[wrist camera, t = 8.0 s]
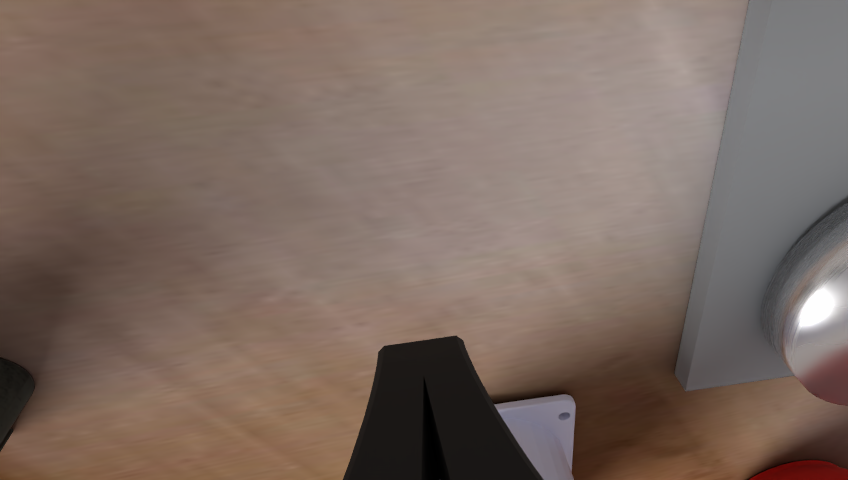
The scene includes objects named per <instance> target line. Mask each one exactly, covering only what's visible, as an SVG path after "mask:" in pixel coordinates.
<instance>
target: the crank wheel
mask: <svg viewBox="0 0 848 480" xmlns="http://www.w3.org/2000/svg"><path fill="white" fill-rule="evenodd" d="M760 318H761V328H762V332H763V335H764V338H765V339H766V341H767V343H768V345H769V346H770V347H771V348H772V349H773V351H774V352H775V353H776V354H777V355H778V356H779V358H780V359H781V360H782V361H783V362H784V363H785V365H786V366H787V367H788V368H789V369H790V370H791V372H792V373H793V374H794V375H795V376H796V377H797V379H798V380H799V381H800V382H801V383H802V384H803V385H804V387H805V388H806V389H807V390H808V391H809V392H811V393H812V394H813V395H815V396H816V397H818V398H820V399H823V400H825V401H827V402H831V403H835V404H839V405H846V406H848V202H847V203H846V204H844V205H843V206H841V207H840V208H838V209H837V210H835V211H834V212H832V213H831V214H829V215H828V216H827V217H826V218H824V219H823V220H822V221H821V222H819V223H818V224H817V225H816V226H814V227H813V228H812V229H811V230H810V231H809V232H808V233H807V234H806V235H805V236H804V237H803V238H802V239H800V240H799V242H798V243H797V244H796V245H795V246H794V247H793V248H792V249H791V251H790V252H789V253H788V254H787V255H786V257H785V258H784V260H783V261H782V262H781V264H780V265H779V266H778V268H777V270H776V271H775V273H774V275H773V277H772V278H771V280H770V282H769V285H768V287H767V289H766V292H765V294H764V298H763V302H762V306H761V316H760Z"/></svg>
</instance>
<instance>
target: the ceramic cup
mask: <svg viewBox="0 0 848 480" xmlns="http://www.w3.org/2000/svg"><path fill="white" fill-rule="evenodd" d="M749 480H848V469H845V468H840V467H838V466H837V465H835V464H832V463H830V462H826V461H820V460H806V461H797V462H792V463H788V464H783V465H780V466H777V467H774V468H771V469H769V470H767V471H764V472H762V473H760V474H758V475H756V476H754V477H753V478H751V479H749Z"/></svg>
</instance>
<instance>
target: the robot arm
mask: <svg viewBox="0 0 848 480" xmlns="http://www.w3.org/2000/svg"><path fill="white" fill-rule="evenodd" d="M575 411H576V405H575V402H574V399H573V397H571V396H570V395H566V394H562V395H555V396H548V397H541V398H535V399H528V400H521V401H514V402H507V403H500V404H493V402H492V400H491V399H490V397H489V395H488V393H487V391H486V390H485V388H484V386H483V384H482V382H481V380H480V378H479V377H478V375H477V373H476V371H475V369H474V366H473V364H472V362H471V360H470V358H469V355H468V353H467V350H466V348H465V345H464V342H463V340H462V339H460V338H459V337H457V336H451V337H444V338H437V339H430V340H423V341H416V342H409V343H402V344H395V345H388V346H384V347H383V348H382V349H381V350H380V351H379V352H378V360H377V367H376V372H375V377H374V382H373V386H372V390H371V394H370V398H369V402H368V405H367V409H366V412H365V416H364V419H363V422H362V426H361V429H360V432H359V435H358V438H357V441H356V444H355V447H354V450H353V453H352V456H351V459H350V462H349V465H348V468H347V470H346V473H345V475H344V478H343V480H574V478H573V475H572V458H573V442H574V426H575Z"/></svg>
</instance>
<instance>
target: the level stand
mask: <svg viewBox="0 0 848 480" xmlns="http://www.w3.org/2000/svg"><path fill="white" fill-rule="evenodd" d="M847 202H848V0H749V5H748V10H747V15H746V20H745V25H744V30H743V35H742V40H741V45H740V49H739V54H738V59H737V64H736V69H735V74H734V79H733V84H732V89H731V94H730V99H729V104H728V109H727V114H726V119H725V124H724V129H723V134H722V139H721V144H720V149H719V154H718V159H717V164H716V169H715V174H714V179H713V184H712V189H711V194H710V199H709V204H708V209H707V214H706V219H705V224H704V229H703V234H702V239H701V244H700V249H699V254H698V259H697V264H696V269H695V274H694V278H693V283H692V288H691V293H690V298H689V303H688V308H687V313H686V318H685V323H684V328H683V333H682V338H681V343H680V348H679V353H678V358H677V363H676V368H675V373H674V374H675V375H676V377H677V379H678V380H679V382H680V384H681V385H682V387H683V388H684V390H685V391H692V390H699V389H705V388H712V387H719V386H726V385H733V384H740V383H747V382H754V381H760V380H767V379H774V378H781V377H788V376H795V375H794V374H793V373H792V372H791V370H790V369H789V368H788V367H787V366H786V365H785V363H784V362H783V361H782V360H781V359H780V358H779V356H778V355H777V354H776V353H775V352H774V351H773V349H772V348H771V347H770V346H769V345H768V343H767V341H766V339H765V338H764V335H763V332H762V328H761V318H760V316H761V306H762V302H763V298H764V294H765V292H766V289H767V287H768V285H769V282H770V280H771V278H772V277H773V275H774V273H775V271H776V270H777V268H778V266H779V265H780V264H781V262H782V261H783V260H784V258H785V257H786V255H787V254H788V253H789V252H790V251H791V249H792V248H793V247H794V246H795V245H796V244H797V243H798V242H799V240H800V239H802V238H803V237H804V236H805V235H806V234H807V233H808V232H809V231H810V230H811V229H812V228H813V227H814V226H816V225H817V224H818V223H819V222H821V221H822V220H823V219H824V218H826V217H827V216H828V215H829V214H831V213H832V212H834V211H835V210H837V209H838V208H840V207H841V206H843V205H844V204H846V203H847Z"/></svg>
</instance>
